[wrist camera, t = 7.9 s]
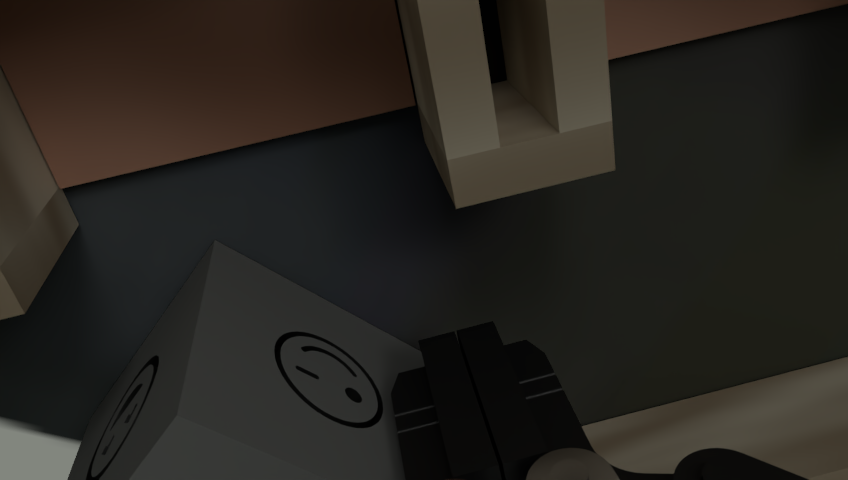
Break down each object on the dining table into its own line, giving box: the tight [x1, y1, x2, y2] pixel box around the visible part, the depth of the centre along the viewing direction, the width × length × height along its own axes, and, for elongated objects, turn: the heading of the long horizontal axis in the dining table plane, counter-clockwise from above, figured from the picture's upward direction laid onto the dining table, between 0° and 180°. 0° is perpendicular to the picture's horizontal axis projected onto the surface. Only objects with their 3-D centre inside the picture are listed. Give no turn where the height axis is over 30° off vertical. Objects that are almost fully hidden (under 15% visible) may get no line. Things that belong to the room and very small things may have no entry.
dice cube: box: [68, 240, 425, 480], centre depth 13 cm, size 5×5×5 cm
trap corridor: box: [0, 0, 848, 480], centre depth 13 cm, size 15×27×4 cm, turn 101°
